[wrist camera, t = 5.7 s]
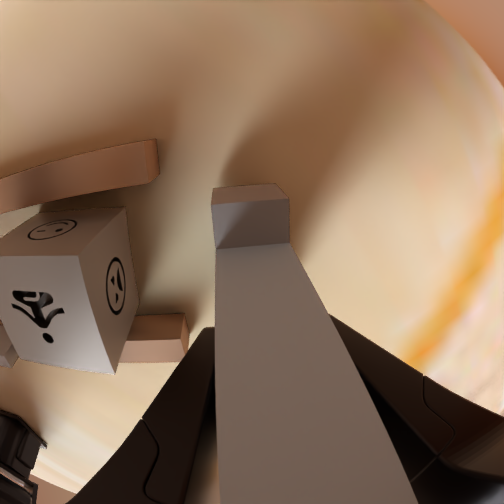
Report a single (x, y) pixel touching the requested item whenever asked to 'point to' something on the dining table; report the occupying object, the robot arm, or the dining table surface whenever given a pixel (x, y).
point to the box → (6, 349)
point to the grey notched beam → (287, 374)
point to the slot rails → (94, 180)
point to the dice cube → (69, 288)
